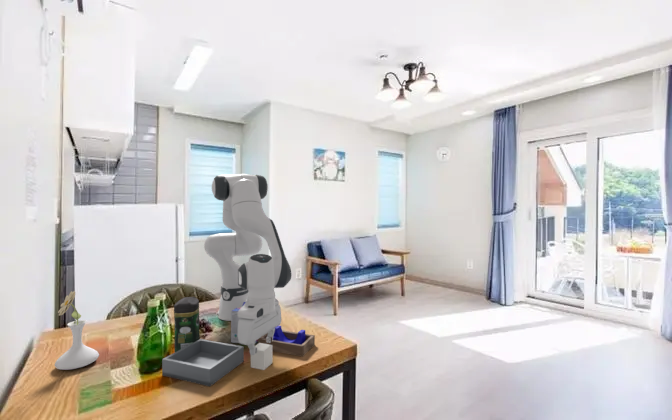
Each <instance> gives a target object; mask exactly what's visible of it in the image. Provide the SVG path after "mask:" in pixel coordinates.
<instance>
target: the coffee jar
mask: <svg viewBox="0 0 672 420" xmlns="http://www.w3.org/2000/svg"><path fill="white" fill-rule="evenodd" d="M173 316H174V353H175V352H177V351H179V350H180V349H182V348H184V347H186V346H188V345H190V344H192V343H194V342H196V341H197V340H199V339H201V338H200V334H201V333H200V300H199V299H198V298H197V297H195V296H186V297H185V296H184V297H182V298H181V299H179V300H177V302H175V304H174V305H173Z"/></svg>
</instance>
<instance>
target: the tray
mask: <svg viewBox="0 0 672 420" xmlns="http://www.w3.org/2000/svg"><path fill="white" fill-rule="evenodd" d="M244 346H245V345H243V346H242V345H238V344H232V343H226V342H220V341H215V340H208V339H202V338H200V339H199V340H197V341H196V342H194V343H192V344H190V345H188V346H186V347H184V348H182V349H180V350H179V351H177V352H175V351H174V352H173V353H171V354H170V355H167V356H166V357H164V358H161V359H162V361H161V363H162V364H161V365H162V366H161V368H162V371H161V372H162V376H163V377H168V378H172V379H175V380H176V379H177V380H181V381H185V382H189V383H194V384H198V385H203V386H206V387H211V386H213V385H214V384H215V383H217V382H218V381H219V380H221V379H222V378H224V376H226V375H227V374H229V373H230V372H232V371H233V370H234V369H235V368H237V367H238V366H240V365H241V364H242V363H244V362H245V361H244V355H245V354H244V350H245V349H244V348H245V347H244Z"/></svg>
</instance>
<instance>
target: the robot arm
mask: <svg viewBox="0 0 672 420" xmlns="http://www.w3.org/2000/svg"><path fill="white" fill-rule="evenodd" d="M268 189H269V184H268V181H267V179H266V177H265V176H263V175H260V174H256V175H254V174H249V173H237V174H233V173H232V174H224V173H223V174H218V175H216V176H215V177H214V178H213V180H212V183H211V191H212V194H213V197H214V198H215V199H216V200H218V201H222V223H223V225H224V226H225V227H226V228H228V229H230V230H232V231H234V232H221V233H220V232H219V233H215V234H210V235H209V236H207V237H206V239H205V241H204V245H203V246H204V247H203V248H204V251H205V252H206V254H207V255H208V256H209V257H210V258H212V259H214V261H215V262H216V263H217V265H218V266H219V269H220V273H221V275H220V276H221V286H220V295H221V296H220V297H219V304H218V305H219V306H218V311H217V317H218V319H220V320H222V321H229V322H231V311H232V310H234V309H236V308H238V307H240V309H239V311H238V313H237V315H238V317H239V318H240V319H239V322H238V341H239V343H238V344H240V345H243V346H247V348H248V350H249V355H250V356H251V355H254V354H256V353H257V348H256V347H255V346H256V343H255V341H256V340H258V339H259V338H261V337H262V336H263V335H265V334H266V333H268V336H267V337H266V342H267V343H271V342H272V341H273V335H274V332H275V327H277V326H278V325H279V326H281V324H282V310H281V306H280V302H279V300H278V298H276V292H275V289H277V288H278V289H281V288H285V287H286V286H287V285H288V284H289V283H290V281H291V280H292V268H291V265H290V263H289V261H288V259H287V257H286V254H285V251H284V248H283V246H282V242H281V240H280V239H281V238H280V236H279V234H278V230H277V227H276V226H275V222H274V221H273V220H272V219H271V218H269V216H268V215H266V213H265V211H264V209H263V204H262V200H263V199H264V198H265V197H266V196H267V194H268V191H269V190H268ZM262 238H263V239H264V240H265V242H266V243H267V246H268V249H269V254H270V255H269V254H265V253H260V251H261V250H262V247H263V240H262ZM244 256H245V257H246V256H249V258H248V262H245V263H242V264H240V263H238V262H235V260H233V258H234V257H244ZM243 302H246V303H245V304H244V305H243ZM242 305H243V306H242Z"/></svg>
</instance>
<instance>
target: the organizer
mask: <svg viewBox="0 0 672 420" xmlns="http://www.w3.org/2000/svg"><path fill="white" fill-rule="evenodd" d="M282 332H283V334H284V335H285V336H286V337H287V338H289V339H291V340H295V339H296V338H297V335H298V332H295V331H288V330H282ZM267 336H268V333H266V334H265V335H263V336H262V337H261V338H259V339H258V342H257V344H258V343H264V344H269V345H272V352H276V353H282V354H288V355H292V356H299V357H304V356H305V355H307V353H308V352H309V351H310V350H311V349H312V348H313V347H314V346H315V336H316V335H314V334H308V333H305V342H304V343H303V344H302V345H300V344H294V343H288V342H282V341H276V340H273V341H272V342H271V343H267V342H266V337H267ZM273 336H274V335H273Z"/></svg>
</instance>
